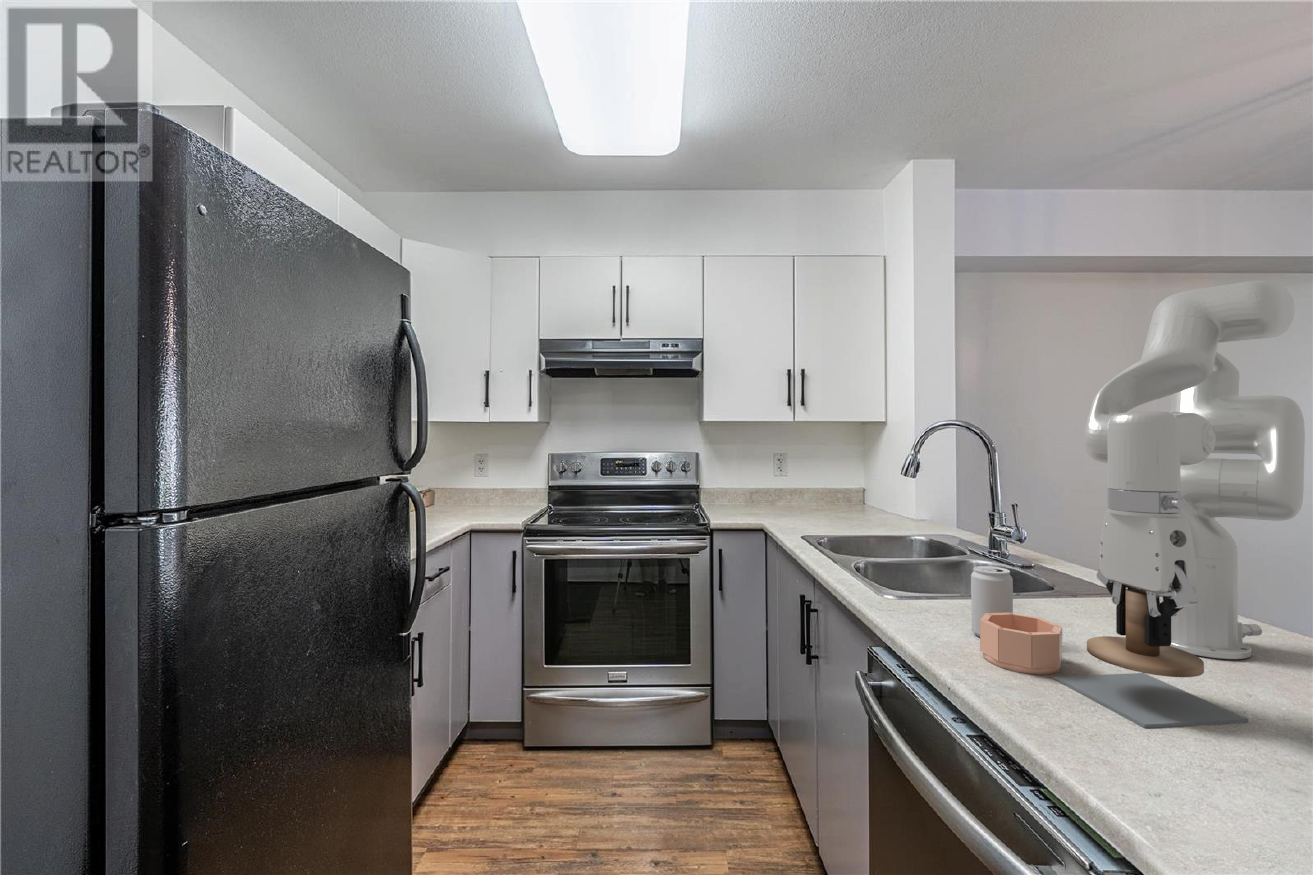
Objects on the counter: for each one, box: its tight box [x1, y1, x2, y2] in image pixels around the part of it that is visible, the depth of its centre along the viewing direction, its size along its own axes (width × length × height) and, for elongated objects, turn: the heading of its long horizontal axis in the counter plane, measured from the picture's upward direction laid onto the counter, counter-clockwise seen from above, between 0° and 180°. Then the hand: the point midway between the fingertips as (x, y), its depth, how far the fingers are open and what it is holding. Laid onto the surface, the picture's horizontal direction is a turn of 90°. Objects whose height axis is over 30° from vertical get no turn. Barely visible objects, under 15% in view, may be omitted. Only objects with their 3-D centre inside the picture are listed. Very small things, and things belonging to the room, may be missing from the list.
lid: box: [1086, 588, 1205, 678], centre depth 77 cm, size 12×12×9 cm
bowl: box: [979, 612, 1063, 676], centre depth 91 cm, size 10×10×6 cm
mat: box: [1054, 672, 1250, 729], centre depth 77 cm, size 14×14×1 cm
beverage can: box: [970, 565, 1014, 638], centre depth 102 cm, size 6×6×12 cm
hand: (1143, 638), depth 77 cm, fingers closed on lid, 3 cm apart
